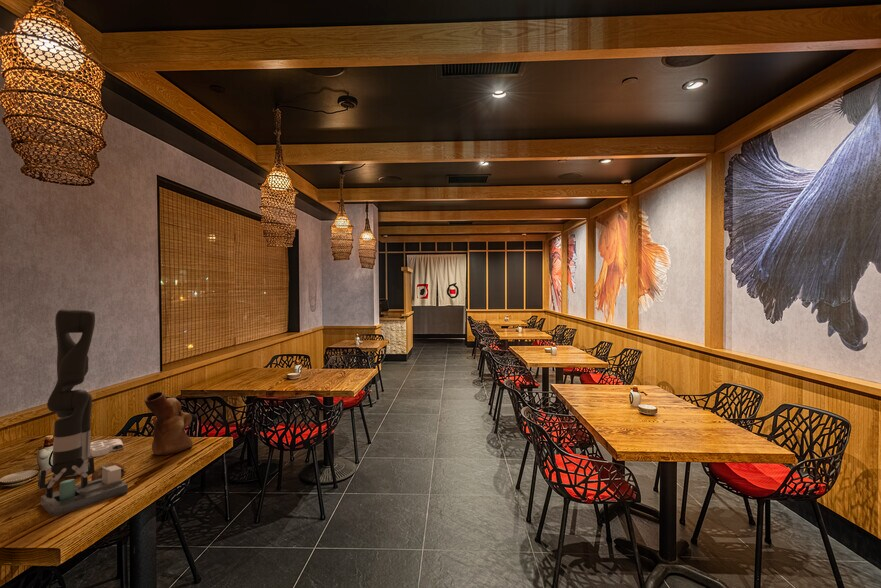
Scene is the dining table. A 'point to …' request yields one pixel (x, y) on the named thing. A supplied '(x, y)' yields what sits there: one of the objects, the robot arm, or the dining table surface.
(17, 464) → the dining table surface
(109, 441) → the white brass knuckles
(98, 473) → the bread roll
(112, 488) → the housing
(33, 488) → the dining table surface
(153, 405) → the ceramic vessel
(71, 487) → the peg
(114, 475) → the block
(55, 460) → the robot arm
